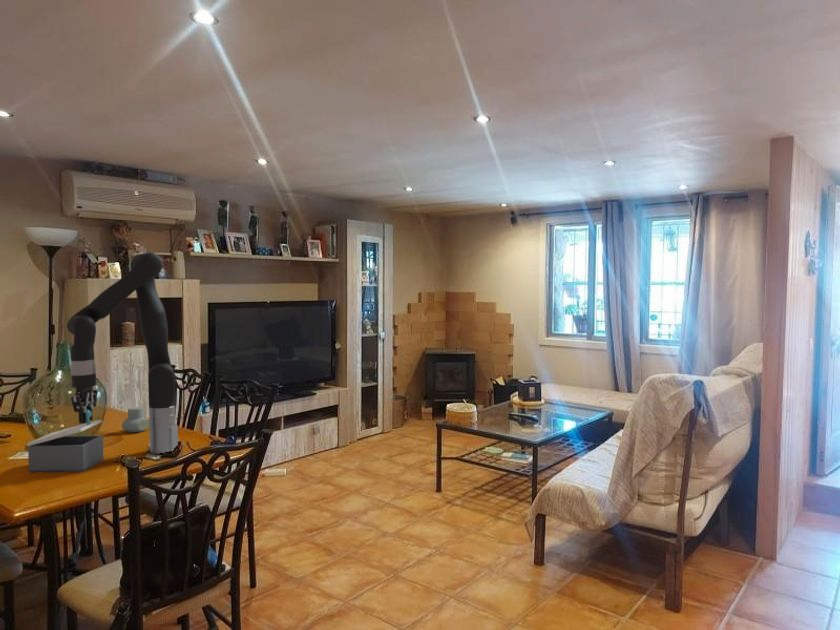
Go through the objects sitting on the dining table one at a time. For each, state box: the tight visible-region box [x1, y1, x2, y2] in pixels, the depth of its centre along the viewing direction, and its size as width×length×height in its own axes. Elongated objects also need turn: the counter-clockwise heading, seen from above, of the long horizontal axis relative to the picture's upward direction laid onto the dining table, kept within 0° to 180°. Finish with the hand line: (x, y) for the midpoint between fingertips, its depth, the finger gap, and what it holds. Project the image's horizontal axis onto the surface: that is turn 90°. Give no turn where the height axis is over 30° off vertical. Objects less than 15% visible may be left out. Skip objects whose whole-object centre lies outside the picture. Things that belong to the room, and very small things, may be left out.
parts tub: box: [27, 434, 105, 474], centre depth 209 cm, size 18×14×9 cm
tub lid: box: [26, 409, 103, 447], centre depth 208 cm, size 19×14×6 cm
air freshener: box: [121, 406, 149, 433], centre depth 260 cm, size 11×8×10 cm
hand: (86, 421), depth 208 cm, fingers closed on tub lid, 3 cm apart
